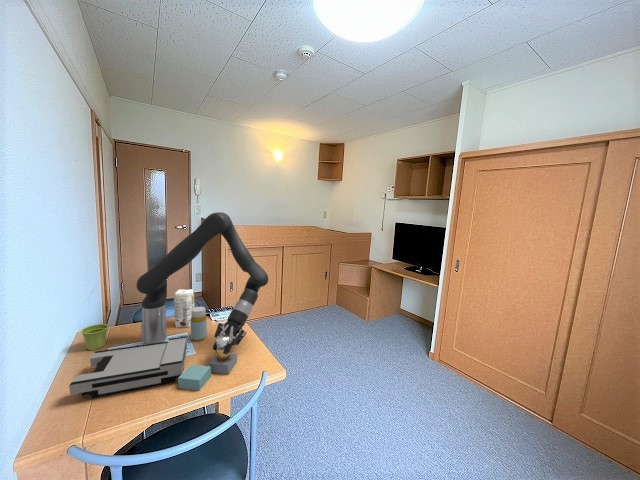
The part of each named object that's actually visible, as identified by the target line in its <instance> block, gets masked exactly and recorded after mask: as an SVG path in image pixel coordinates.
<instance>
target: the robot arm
mask: <svg viewBox="0 0 640 480" xmlns="http://www.w3.org/2000/svg"><path fill="white" fill-rule="evenodd" d="M219 234H220V235H221V236H222V237H223V238H224V240H225V241H226V243H227V245H228V246H229V249H230V252H231V255H232V256H233V259H234V260H235V261H236V263H237V265H238V266H239V268H240V269H241V270H242V272H244V273H247V274H248V275H249V277H248V279H247V281H246V284H245V287H244V289H243V292H242V293H241V295H240V296H239V299H238V300H237V302H236V303H235V304H234V305H233V307H232V310H231V312H230V313H229V315H228V317H227V321H226V322H225V323H222V322H219V323H218V324H217V327H216V330H215V333H214V338H215V339H216V337H217V336H219V335H222V334H228V335H229V338H230V339H229V344H227V346H226V347H225V349H224V351H223V353H224V354H226V355H227V354H228V353H229V352H230V351H231V350H232V347H233V346H239V344H240V343H241V342H242V340H243V339H244V337H245V336H246V335H247V332H246V331H245V330H244V329H243V327H244V326H245V325H246V322H247V320H248V318H250V315H251V313H252V311H253V308H254V306H255V303H256V301H257V300H258V297H259V294H258V292H259V291H260V288H263V287H265V286H266V285H267V284H268V283H269V275H268V273H267V272H266V270H264V269H263V267H261V266H260V264H258V263H257V261H256V260H255V259H254V256H252V254H251V253H250V252H249V250H248V249H247V247H246V245H245V244H244V242H243V241H242V239H241V238H240V235H239V234H238V232H237V230H236V228H235V225H234V223H233V221H232V220H231V217H230V216H229V214H227V213H225V212H222V211H220V212H218V211H217V212H213V213H210V214H209V215H207V217H206V218H205V219H204V220H203V221H202V222H201V224H200V225H198V226H197V228H196V229H195V230H194V231H192V232H191V233H190V234H188V236H186V237H185V238H183V240H181V241H180V242H178V243H177V244H176V246H174V247H173V248H172V249H171V250H170V251H169V252H168V253H167V254H166V255H165V256H164V257H163V258H162V259H160V261H159V262H157V264H156V265H154V266H153V267H152V268H151V269H149V270H148V271H146V272H145V273H143V274H142V275H140V276H139V277H138V280H137V281H136V288H137V290H138V292H139V293H141V294H144V295H145V294H146V295H145V297H144V298H143V299H142V302H141V311H142V313H141V314H142V315H141V316H142V321H141V323H140V331H141V332H140V333H141V342H142V343H143V344H144V345H145V344H153V343H160V342H166V340H167V337H168V335H167V316H166V315H167V313H166V311H167V310H166V299H167V297H168V279H167V278H169V277H170V276H172V275H173V274H175V273H177V272H178V271H180V270H181V269H183V268H184V267H186V266H188V264H190V263H191V262H192V261H193V260H194V259H195V258H196V257H197V256H199V254H200V253H201V251H202V250H203V248H204V247H205V246H206V244H207V243H209V241H211V240H212V239H214V238H215V237H217V236H218V235H219ZM212 350H213V351H215V352H217V349H216V341H215V342H214V344H213V345H212ZM230 353H231V352H230Z"/></svg>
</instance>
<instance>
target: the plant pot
mask: <svg viewBox="0 0 640 480" xmlns="http://www.w3.org/2000/svg"><path fill="white" fill-rule="evenodd" d="M108 329H109V325H108V324H105V323H96V324H92V325H89V326H85V327H84V328H82V329H81V330H80V333H81V334H82V336H83V338H84V339H83V340H84V342H85V346H86V349H87V350H89V351H94V350H95V351H97V350H99V349H101V348H104V347H105V345H106V340H107V339H106V338H107V337H106V336H107V331H108Z"/></svg>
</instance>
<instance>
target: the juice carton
mask: <svg viewBox="0 0 640 480" xmlns="http://www.w3.org/2000/svg"><path fill="white" fill-rule="evenodd" d="M173 305H174V307H173V308H174V324H175V327H176V328H191V317H192V314H191V310H192V309H193V308H195V294H194V289H193V288H192V289H183V288H182V289H178V290H176V291H175V292H174V295H173Z"/></svg>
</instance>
